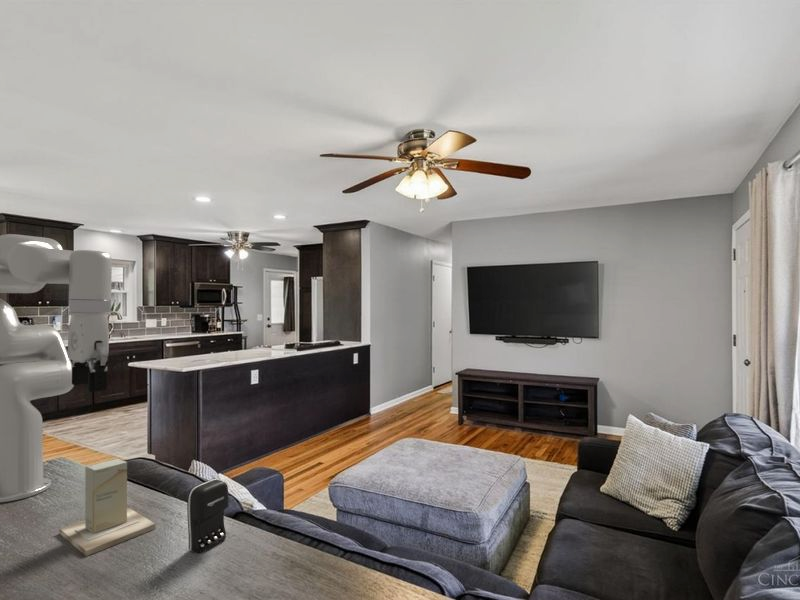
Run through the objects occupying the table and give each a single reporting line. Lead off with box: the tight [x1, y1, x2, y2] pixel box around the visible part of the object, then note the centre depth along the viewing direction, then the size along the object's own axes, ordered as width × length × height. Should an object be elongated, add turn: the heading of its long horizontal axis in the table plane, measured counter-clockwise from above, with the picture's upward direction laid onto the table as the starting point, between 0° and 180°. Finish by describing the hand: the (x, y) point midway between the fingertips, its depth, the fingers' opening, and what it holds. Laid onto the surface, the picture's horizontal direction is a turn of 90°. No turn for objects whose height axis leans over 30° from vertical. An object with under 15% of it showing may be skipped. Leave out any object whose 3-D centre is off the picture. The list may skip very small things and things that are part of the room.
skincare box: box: [84, 457, 128, 533], centre depth 89 cm, size 6×4×12 cm
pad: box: [59, 506, 157, 557], centre depth 89 cm, size 14×12×1 cm
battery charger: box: [186, 478, 230, 553], centre depth 83 cm, size 7×4×11 cm, turn 150°
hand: (88, 387), depth 96 cm, fingers open, 9 cm apart
